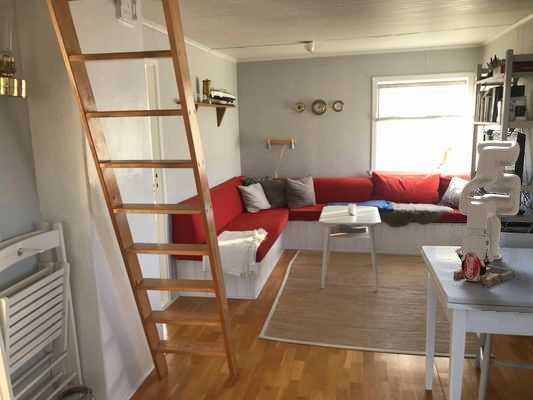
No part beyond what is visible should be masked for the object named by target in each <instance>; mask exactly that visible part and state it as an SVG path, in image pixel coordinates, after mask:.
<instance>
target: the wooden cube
mask: <svg viewBox="0 0 533 400" xmlns="http://www.w3.org/2000/svg"><path fill="white" fill-rule="evenodd" d="M490 269H491V268H488V267H486V278H487V277H489V276H491V271H490Z"/></svg>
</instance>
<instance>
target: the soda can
mask: <svg viewBox="0 0 533 400" xmlns="http://www.w3.org/2000/svg"><path fill="white" fill-rule="evenodd" d="M481 266H482V264H481V262H480V260H479V258H478V257H477V254H473V253H469V252H468V254H466V256H465V263H464V277H463V278H464V279H466V280H467V281H469V282H479V281H480V280H481V279H482V276H481V275H480V267H481Z"/></svg>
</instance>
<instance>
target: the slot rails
mask: <svg viewBox="0 0 533 400" xmlns="http://www.w3.org/2000/svg"><path fill="white" fill-rule="evenodd" d="M500 275H501V274H499V273H494V274H492V275H490V276H489V277H487V278H485V279H483V280H482V287H485V288H489V287H490V286H492V285H494V284H497V283H499V282H501V281H500ZM461 278H464V271H462V268H459V269H457V270H454V271H453V279H455V280H459V279H461Z"/></svg>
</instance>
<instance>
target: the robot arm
mask: <svg viewBox="0 0 533 400" xmlns="http://www.w3.org/2000/svg"><path fill="white" fill-rule="evenodd" d="M476 149H477V153H478V161H477V166H476V172H475V176H474V177H473V178H472V179H470V180H469V181H468V182H467V183H466V184H465V185H464V187H463V188H462V190H461V193H460V197H459V203H458V211H459V213H460V214H462V215H464V216H467V217H466V218H467V219H466V230H465V231H466V232H464V235H463V239H462V243H461V247H459V248H457V249H456V250H455V251H454V252H455V254H456V255H457V257H458V258H459V260H460V262H461V265H460V267H461V268H460V269H462V271H464V263H465V256H466V254H468V252H469V253H473V254H477V257H478V258H479V260H480V262H481V264H482V266H481V267H480V275H481V276H482V275H485V273H486V266H487V265H488V264H489V265H491V263H492V262H494V261H496V260H501V259H502V258H503V257H502V254H500V253H499V252H500V250H501V248H502V247H500V241H501V240H500V239H501V226H502V224H501V223H502V222H501V220H500V219H499V217H498V215H501V216H502V215H504V216H516V215H517V214H518V213H519V210H520V204H521V203H520V201H521V186H522V184H521V182H522V181H521V178H520V176H519V175H517V174H513V173H504V169H505V167H513V166H515V164H516V162H517V161H518V157H519V155H520V151H521V148H520V144H519V143H518V141H512V140H485V141H482V140H481V141H480V142H479V143H478V144H477V148H476ZM481 188H483V190H484V191H485V192H487V193H488V194H483V195H481V197H480V198H474V197H469V195H471V193H472V192H474V191H476V190H478V189H481ZM494 193H495V194H494ZM503 194H504V195H503Z"/></svg>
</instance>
